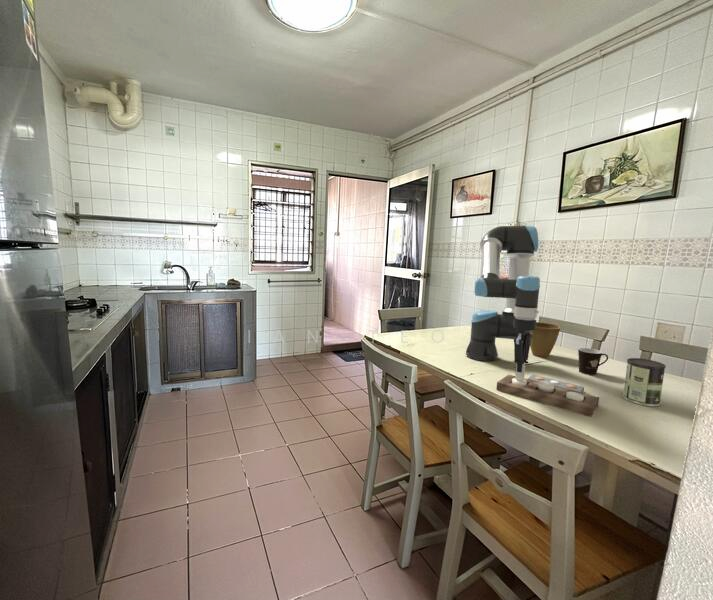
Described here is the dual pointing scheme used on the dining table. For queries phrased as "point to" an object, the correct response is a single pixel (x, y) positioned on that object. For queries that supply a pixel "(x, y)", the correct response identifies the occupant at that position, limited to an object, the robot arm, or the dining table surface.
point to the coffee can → (644, 381)
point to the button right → (575, 396)
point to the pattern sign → (558, 383)
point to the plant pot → (543, 338)
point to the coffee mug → (589, 360)
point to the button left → (519, 382)
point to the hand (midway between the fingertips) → (519, 379)
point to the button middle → (546, 386)
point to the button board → (550, 396)
